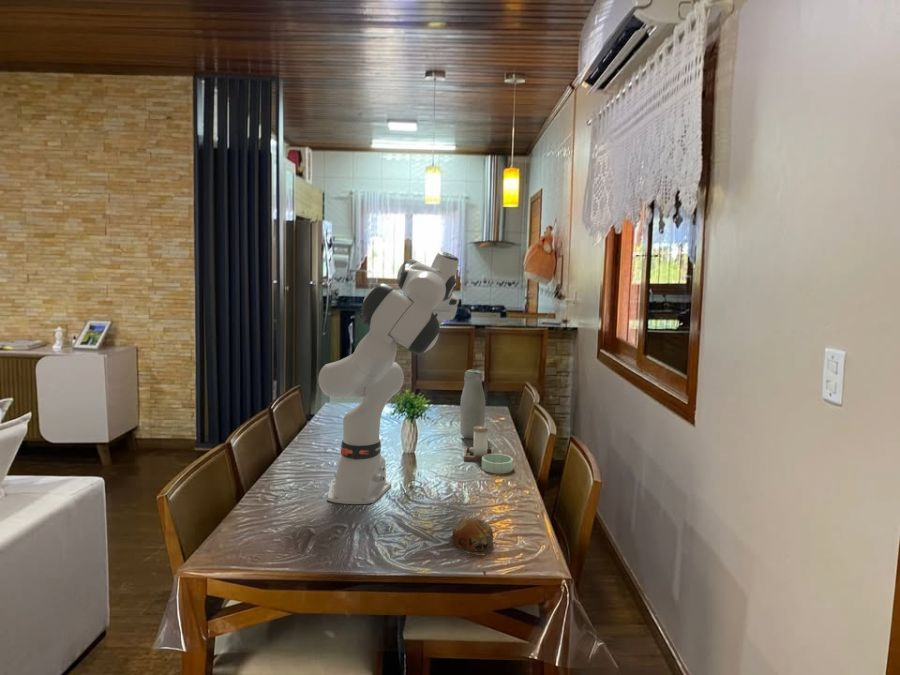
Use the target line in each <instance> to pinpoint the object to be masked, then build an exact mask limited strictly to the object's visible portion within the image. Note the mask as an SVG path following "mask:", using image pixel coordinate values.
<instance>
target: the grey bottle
mask: <svg viewBox="0 0 900 675" xmlns="http://www.w3.org/2000/svg"><path fill="white" fill-rule="evenodd" d="M483 378H484V377H483V372H482V371H480V370H477V369H468V370H466V371H465V372H464V376H463V379H464V385H463V389H462V393H461V396H460V422H459V423H460V426H459V427H460V428H459V429H460V433H461V436H462V437H463V438H464V439H469V440H474V427H475V426H486V425H485V423H486V396H485V392H484V388H483Z"/></svg>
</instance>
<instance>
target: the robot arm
mask: <svg viewBox="0 0 900 675" xmlns="http://www.w3.org/2000/svg"><path fill="white" fill-rule="evenodd" d="M459 262H460V260H459V258H458V257H457V256H455V255H454V254H451V253H449V252H445V251H439V252H437V254H436V256H435V257H434V260H433V261H432V264H431V266H429V265H426V264H424V263H422V262H419V261H417V260H416V259H413V258H410V259H407V260H404V262H403V263H402V264H401V265H400V267H399V269H398V272H397V276H396V277H397V280H396V281H397V286H398V287H399V289H401V290H402V292H404V294H402V293H401V292H399V291H398V290H395V289H394V287H393V286H391V285H388V284H386V283H383V282H382V283H378V284H377V285H376V286H374V287H373V288H370V289H369V291H368V292H367V293H366V294H365V296H364V298H363V301H362V304H361V315H362V318H363V326H365V327H366V326H367V325H368V327H369V330H368V332H367V333H366V334H365V336H363V338H362V339H360V341H359V342H358V344H357V345H356V347H355V349H354V352H353V353H351V354H350V355H348V356H346V357H343V358H342V359H340V360H337V361H333V362H330V363H326V364H324V366H322V367H321V369H320V371H319V373H318V377H317V378H318V379H317V380H318V386H319V388H320V390H321V391H322V393H323V394H324V395H325V396H327V397H332V398H341V399H344V398H345V399H346V398H348V399H349V398H362V400H361V402H360V403H359V404H358V405H357V406H355V407H352V408H351V409H349V410H348V411H347V412H346V413H345V414H344V417H343V420H342V422H343V423H342V440H341V444H340V455H339V456H338V457H337V467H336V472H335V473H334V479H331V480H330V484H329V488H328V494H327V501H328V502H331V503H335V504H343V505H346V504H347V505H367V504H368V505H369V504H373V503H375V502H376V501H378V499H380V498H381V497H382V496H383V495H384V494H385V493H386V492H387V491H389V489H390V488H391V487H392V483H391V482H390V481H388V480H387V472H386V471H387V468H386V467H387V466H386V459H385V458H384V457H383V456H382V454H381V450H382V449H381V448H382V443H381V439H380V433H381V432H380V431H381V430H380V428H381V420H382V419H381V418H382V414H383V412H384V409H385V406H386V405H387V404H388V402H389V401H390V399H392V398H393V396H394V395H396V394H397V393H399V391H400V390H401V388H402V387H403V385H404V382H405V381H404V380H405V376H404V375H405V374H404V371H403V368H402V366H401V365H400V364H398V362H395V360H396V357H397V353H398V352H397V351H398V350H397V347H398V346H397V343H398V344H399V345H402V346H403V347H404V348H406V349H408V351H409V352H411V353H412V354H416V355H418V356H420V355H423V354H424V353H426V352H428V351H429V350H431V349H432V348H433V347H434V346H435V345H436V342H437V341H438V339H439V334H440V332H441V328H440V326H441V324H442V323H444V321H452V320H454V319H455V317H456V314H457V312H458V305H459V304H460V303H459V302H460V299H459V297H458V296H457V295H456V294H455V293H454V288H455V286H456V284H457V278H456V276H457V273H458V267H459Z"/></svg>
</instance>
